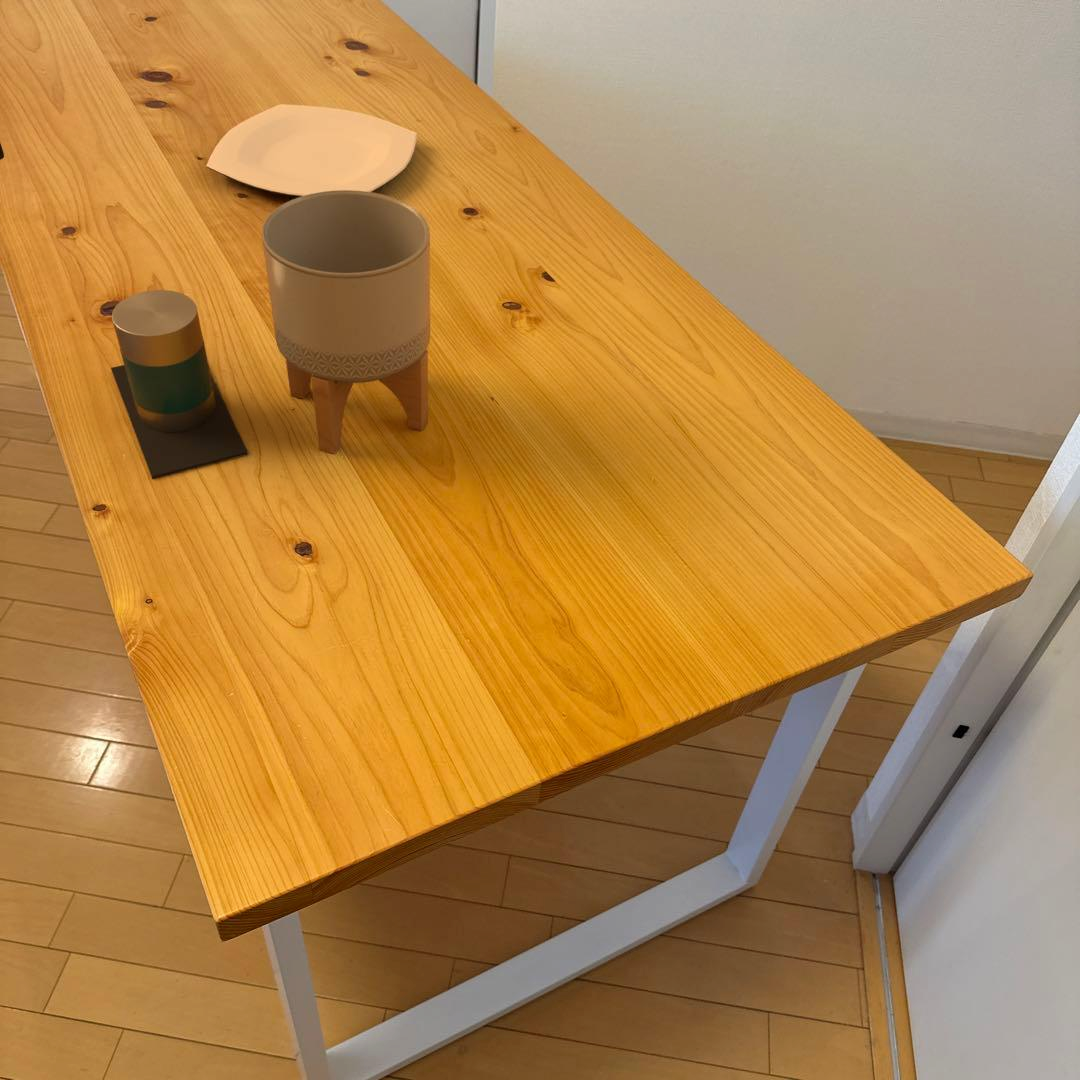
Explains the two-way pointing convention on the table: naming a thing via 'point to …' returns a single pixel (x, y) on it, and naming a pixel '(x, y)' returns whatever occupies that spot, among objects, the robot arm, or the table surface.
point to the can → (165, 359)
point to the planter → (350, 300)
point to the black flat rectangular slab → (183, 436)
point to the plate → (313, 151)
